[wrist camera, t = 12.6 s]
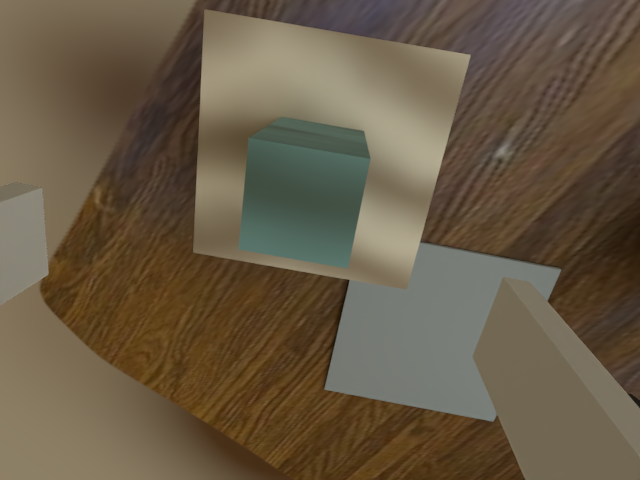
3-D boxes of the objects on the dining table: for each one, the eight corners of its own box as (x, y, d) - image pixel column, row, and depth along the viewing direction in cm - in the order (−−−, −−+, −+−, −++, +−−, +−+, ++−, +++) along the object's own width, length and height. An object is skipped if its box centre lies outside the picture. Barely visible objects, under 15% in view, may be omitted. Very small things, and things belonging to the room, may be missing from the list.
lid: (404, 281, 30) (429, 375, 21) (198, 245, 30) (130, 323, 21) (465, 55, 24) (536, 45, 15) (210, 12, 24) (124, -26, 15)
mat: (492, 418, 44) (493, 421, 43) (324, 386, 44) (324, 389, 43) (559, 267, 37) (561, 269, 37) (361, 229, 37) (361, 231, 37)
